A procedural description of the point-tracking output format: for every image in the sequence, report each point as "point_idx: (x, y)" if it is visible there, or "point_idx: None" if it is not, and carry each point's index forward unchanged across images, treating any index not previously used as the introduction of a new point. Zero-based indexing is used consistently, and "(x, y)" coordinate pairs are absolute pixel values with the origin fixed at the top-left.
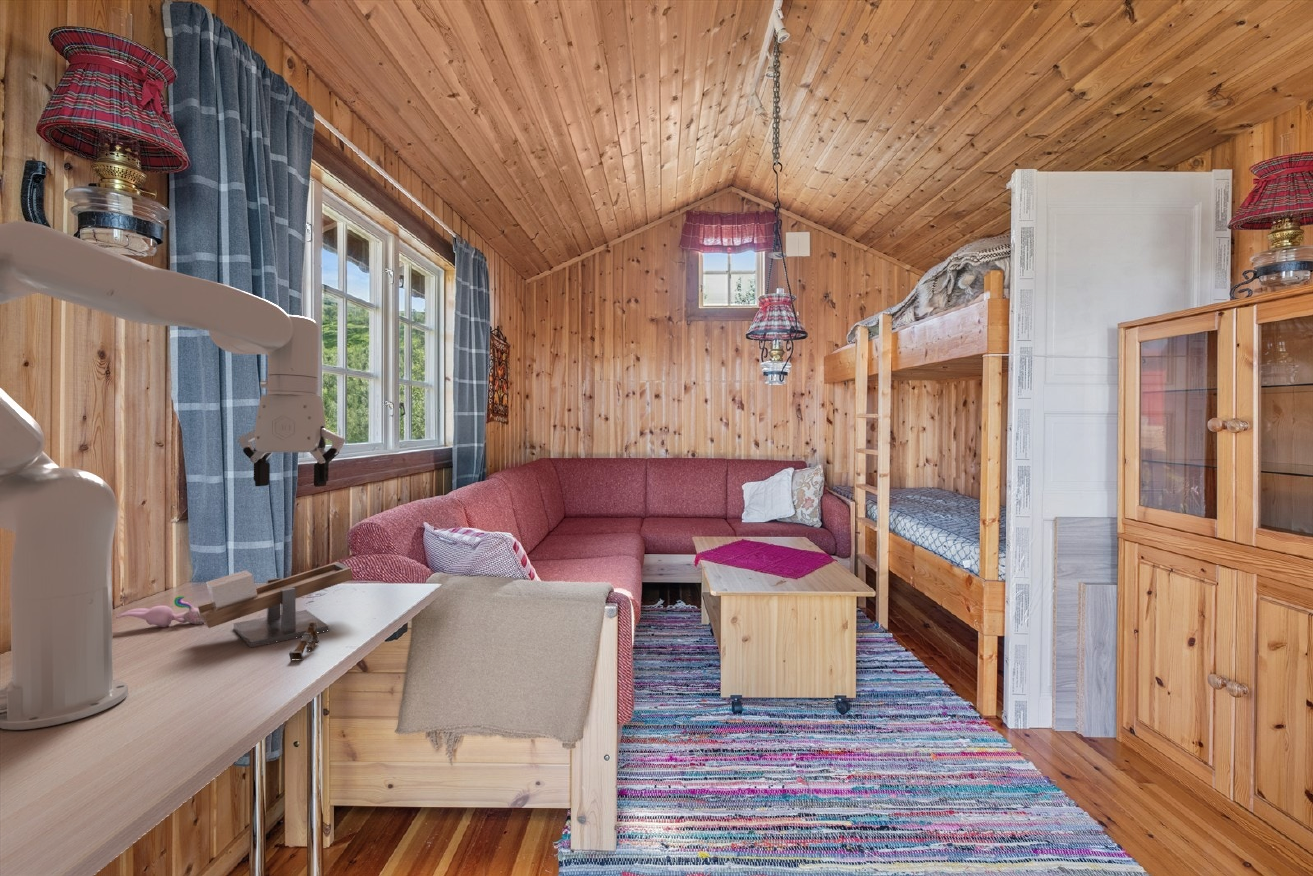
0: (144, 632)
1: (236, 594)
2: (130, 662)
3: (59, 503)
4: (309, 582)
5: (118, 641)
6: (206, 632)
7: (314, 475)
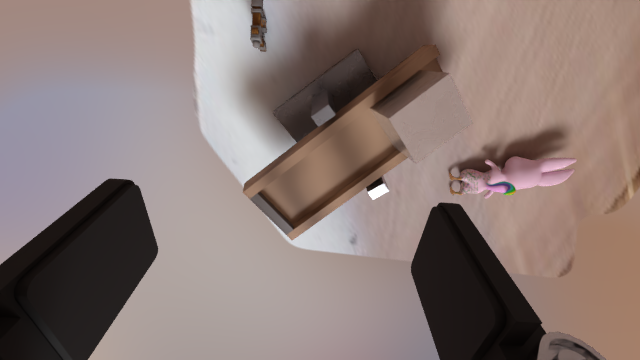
0: (524, 146)
1: (404, 93)
2: (509, 8)
3: None
4: (299, 148)
5: (548, 112)
6: None
7: (91, 222)
